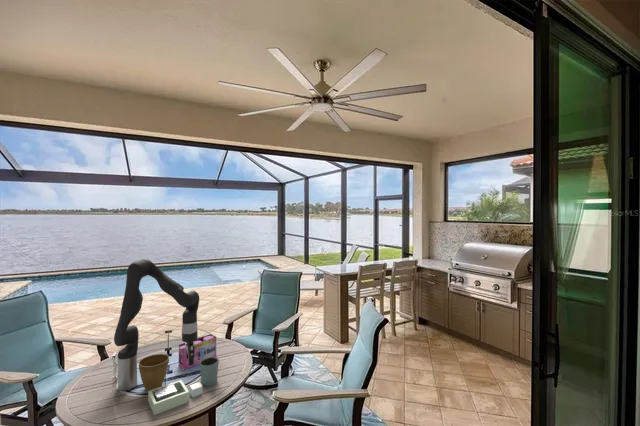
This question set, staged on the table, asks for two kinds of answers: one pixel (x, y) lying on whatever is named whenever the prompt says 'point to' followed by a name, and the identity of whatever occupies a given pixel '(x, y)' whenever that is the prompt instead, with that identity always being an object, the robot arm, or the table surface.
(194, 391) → the off-white carton
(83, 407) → the table surface
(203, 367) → the teal cup
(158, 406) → the tote
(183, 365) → the gum box
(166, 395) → the tin block
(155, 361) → the plant pot
